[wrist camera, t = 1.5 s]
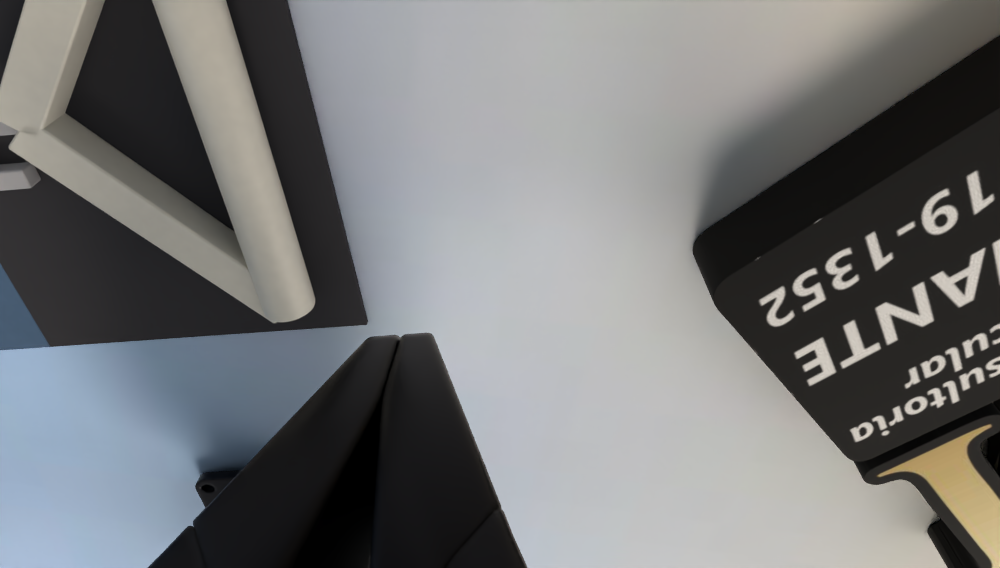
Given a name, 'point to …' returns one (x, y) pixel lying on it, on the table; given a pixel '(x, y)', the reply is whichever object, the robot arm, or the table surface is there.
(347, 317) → the mat
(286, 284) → the hanger
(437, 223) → the table surface
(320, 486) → the robot arm
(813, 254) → the decorative sign
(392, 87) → the table surface
